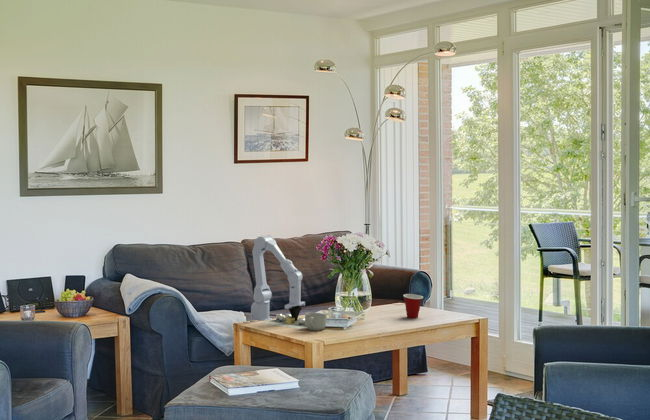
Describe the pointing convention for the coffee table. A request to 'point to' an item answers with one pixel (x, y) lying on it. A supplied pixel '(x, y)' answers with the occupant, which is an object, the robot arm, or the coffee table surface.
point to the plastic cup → (412, 305)
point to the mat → (276, 322)
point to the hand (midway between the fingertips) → (294, 321)
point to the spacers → (283, 317)
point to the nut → (290, 320)
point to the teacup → (315, 321)
